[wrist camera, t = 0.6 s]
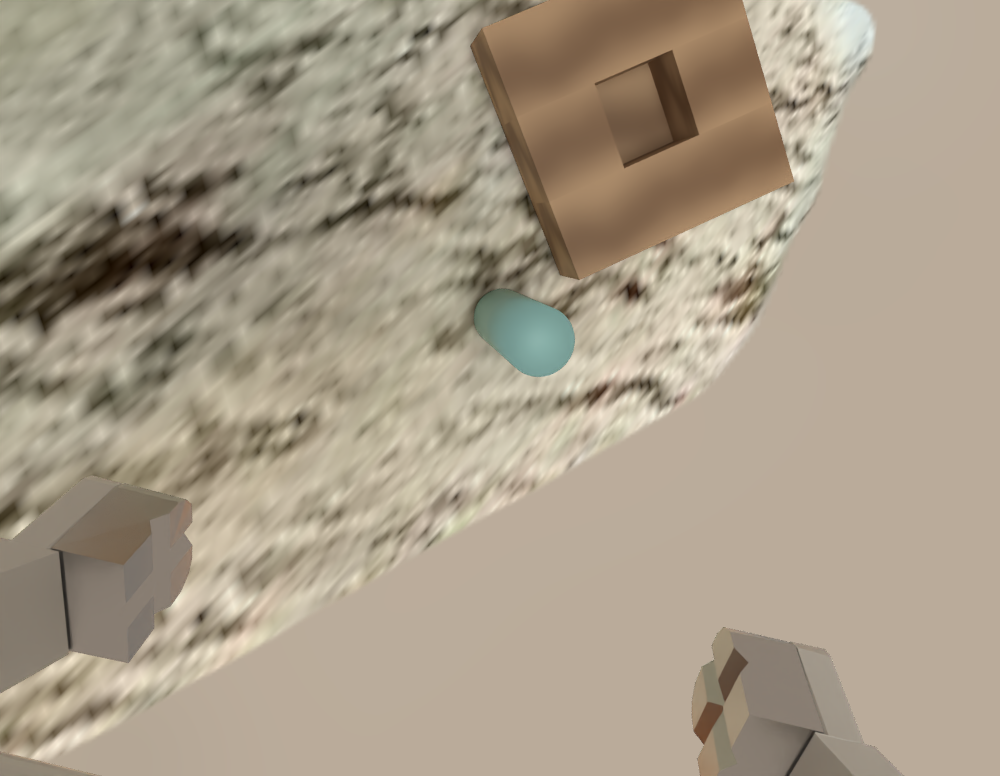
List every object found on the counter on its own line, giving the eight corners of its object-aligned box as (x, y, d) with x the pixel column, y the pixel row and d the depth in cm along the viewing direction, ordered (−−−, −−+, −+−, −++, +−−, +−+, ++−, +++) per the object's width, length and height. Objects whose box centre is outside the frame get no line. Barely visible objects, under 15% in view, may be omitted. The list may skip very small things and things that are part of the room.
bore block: (470, 46, 47) (482, 28, 43) (688, -47, 48) (721, -73, 44) (560, 275, 51) (579, 279, 47) (758, 184, 53) (794, 181, 49)
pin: (464, 303, 51) (494, 324, 40) (516, 279, 51) (559, 294, 40) (487, 354, 52) (521, 388, 41) (537, 330, 52) (584, 358, 42)
